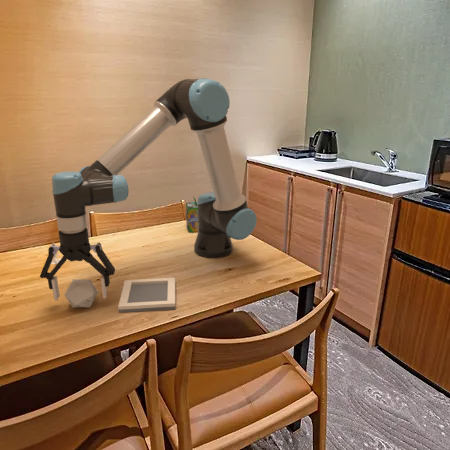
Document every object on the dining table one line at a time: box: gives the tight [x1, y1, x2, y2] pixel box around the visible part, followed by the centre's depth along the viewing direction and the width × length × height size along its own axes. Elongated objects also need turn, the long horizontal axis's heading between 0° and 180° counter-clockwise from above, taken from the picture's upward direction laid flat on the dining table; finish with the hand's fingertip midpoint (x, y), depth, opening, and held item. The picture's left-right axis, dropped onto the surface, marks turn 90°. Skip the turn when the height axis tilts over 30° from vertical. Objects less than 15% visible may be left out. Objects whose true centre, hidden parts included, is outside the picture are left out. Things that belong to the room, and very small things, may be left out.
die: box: [64, 278, 99, 309], centre depth 114 cm, size 8×9×10 cm
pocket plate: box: [117, 277, 176, 313], centre depth 119 cm, size 16×16×2 cm
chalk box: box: [185, 196, 198, 233], centre depth 174 cm, size 9×9×15 cm
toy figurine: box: [51, 243, 62, 265], centre depth 141 cm, size 5×8×7 cm, turn 31°
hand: (81, 297), depth 114 cm, fingers open, 13 cm apart
